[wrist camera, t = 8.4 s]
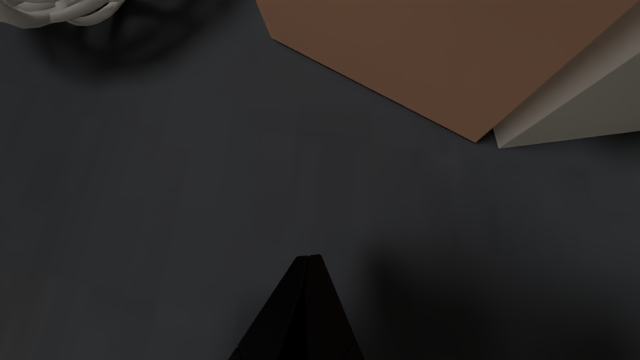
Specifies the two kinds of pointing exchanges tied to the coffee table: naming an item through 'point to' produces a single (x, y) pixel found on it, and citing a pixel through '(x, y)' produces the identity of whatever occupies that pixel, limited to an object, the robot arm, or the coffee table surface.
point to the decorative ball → (56, 12)
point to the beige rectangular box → (584, 92)
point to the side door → (444, 48)
